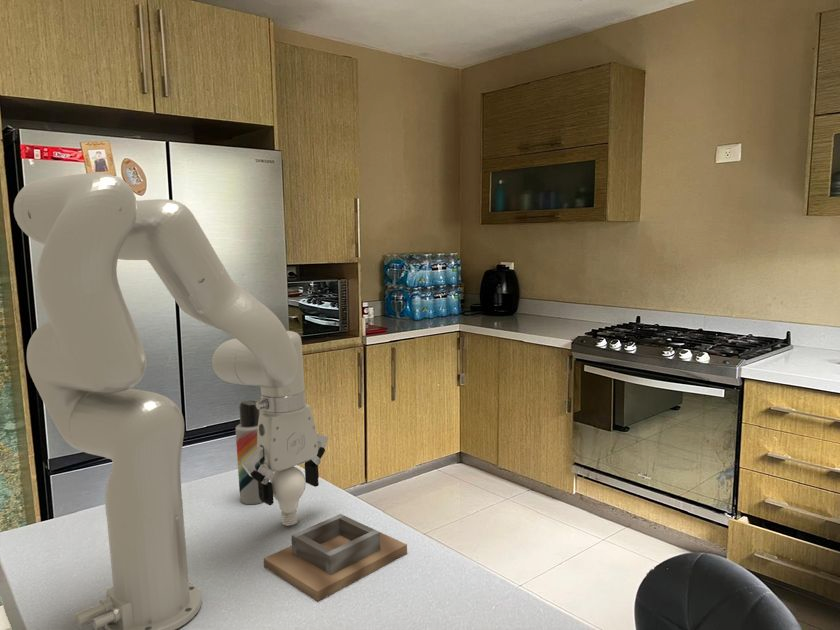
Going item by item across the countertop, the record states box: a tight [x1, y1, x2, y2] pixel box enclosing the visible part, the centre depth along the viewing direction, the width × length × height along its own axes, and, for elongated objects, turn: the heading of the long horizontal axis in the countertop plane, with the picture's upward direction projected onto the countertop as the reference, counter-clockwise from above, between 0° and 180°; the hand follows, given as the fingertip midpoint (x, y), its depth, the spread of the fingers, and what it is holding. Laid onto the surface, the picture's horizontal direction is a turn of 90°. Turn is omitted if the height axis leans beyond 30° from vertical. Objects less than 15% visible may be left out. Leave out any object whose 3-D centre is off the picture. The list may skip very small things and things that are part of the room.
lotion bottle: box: [235, 400, 266, 505], centre depth 123 cm, size 6×6×20 cm
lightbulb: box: [269, 466, 307, 527], centre depth 112 cm, size 6×6×11 cm
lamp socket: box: [263, 513, 408, 602], centre depth 100 cm, size 18×14×4 cm
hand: (290, 493), depth 112 cm, fingers open, 9 cm apart
